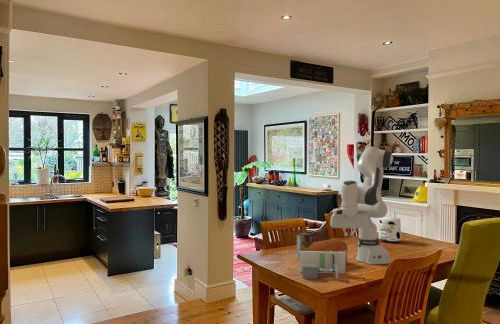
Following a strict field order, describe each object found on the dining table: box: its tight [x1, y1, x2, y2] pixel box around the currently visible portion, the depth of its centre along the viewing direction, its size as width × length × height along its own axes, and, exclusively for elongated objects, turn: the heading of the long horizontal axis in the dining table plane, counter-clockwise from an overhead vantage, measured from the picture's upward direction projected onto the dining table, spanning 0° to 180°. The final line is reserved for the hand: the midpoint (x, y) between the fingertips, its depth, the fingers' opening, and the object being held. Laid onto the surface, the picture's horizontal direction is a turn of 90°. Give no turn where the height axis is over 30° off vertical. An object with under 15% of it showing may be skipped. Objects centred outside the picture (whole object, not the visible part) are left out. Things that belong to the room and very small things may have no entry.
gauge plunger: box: [318, 254, 339, 280], centre depth 205 cm, size 12×12×10 cm
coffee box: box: [296, 232, 314, 260], centre depth 241 cm, size 9×6×16 cm
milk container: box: [377, 216, 402, 243], centre depth 294 cm, size 17×17×18 cm
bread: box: [307, 237, 349, 265], centre depth 228 cm, size 25×12×15 cm, turn 131°
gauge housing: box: [299, 251, 346, 280], centre depth 206 cm, size 26×12×12 cm, turn 86°
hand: (349, 236), depth 202 cm, fingers closed
